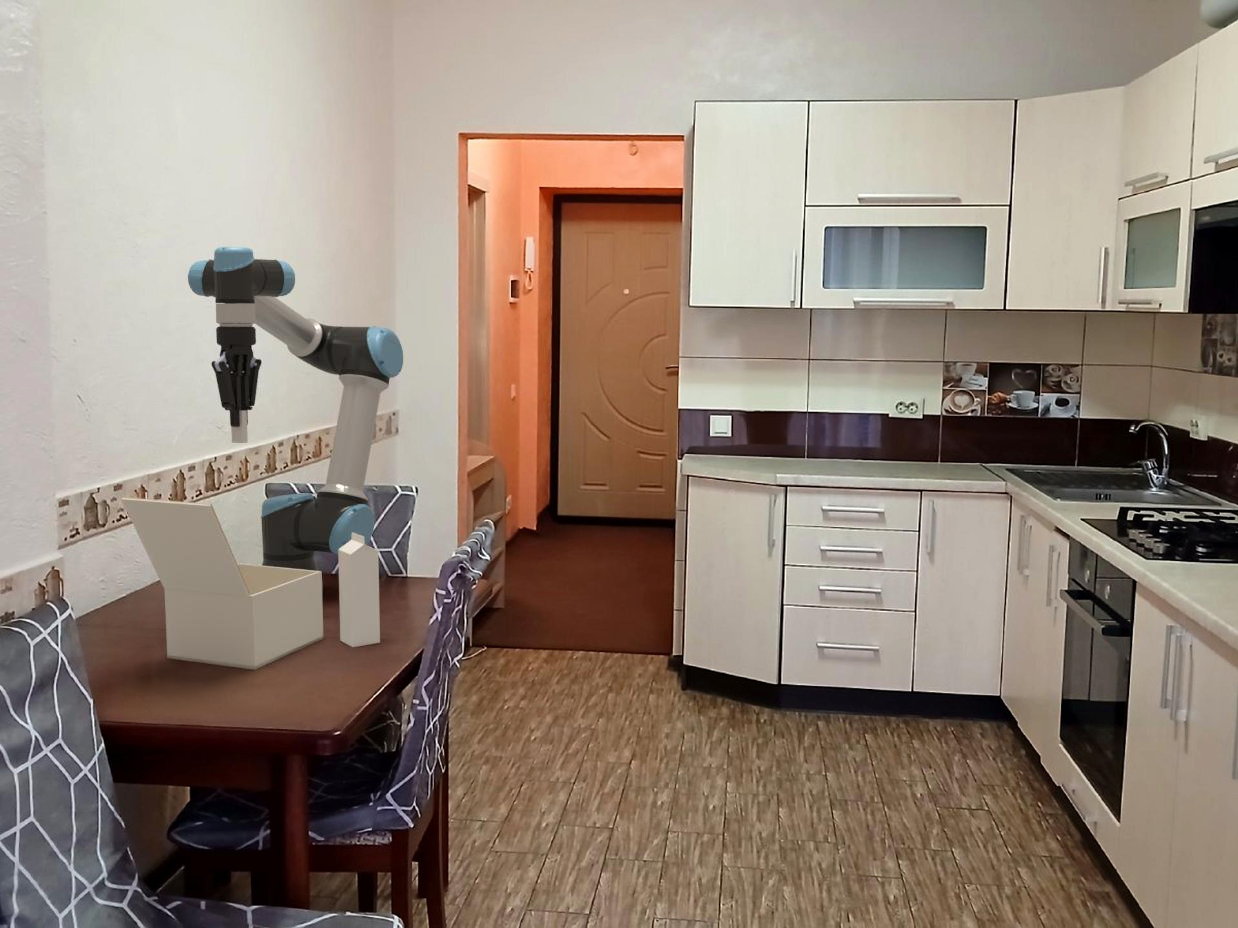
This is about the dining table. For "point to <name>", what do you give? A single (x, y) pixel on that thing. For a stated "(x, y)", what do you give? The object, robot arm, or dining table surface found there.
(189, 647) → the carton
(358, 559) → the milk
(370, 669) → the dining table surface
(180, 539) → the flap
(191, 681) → the dining table surface
